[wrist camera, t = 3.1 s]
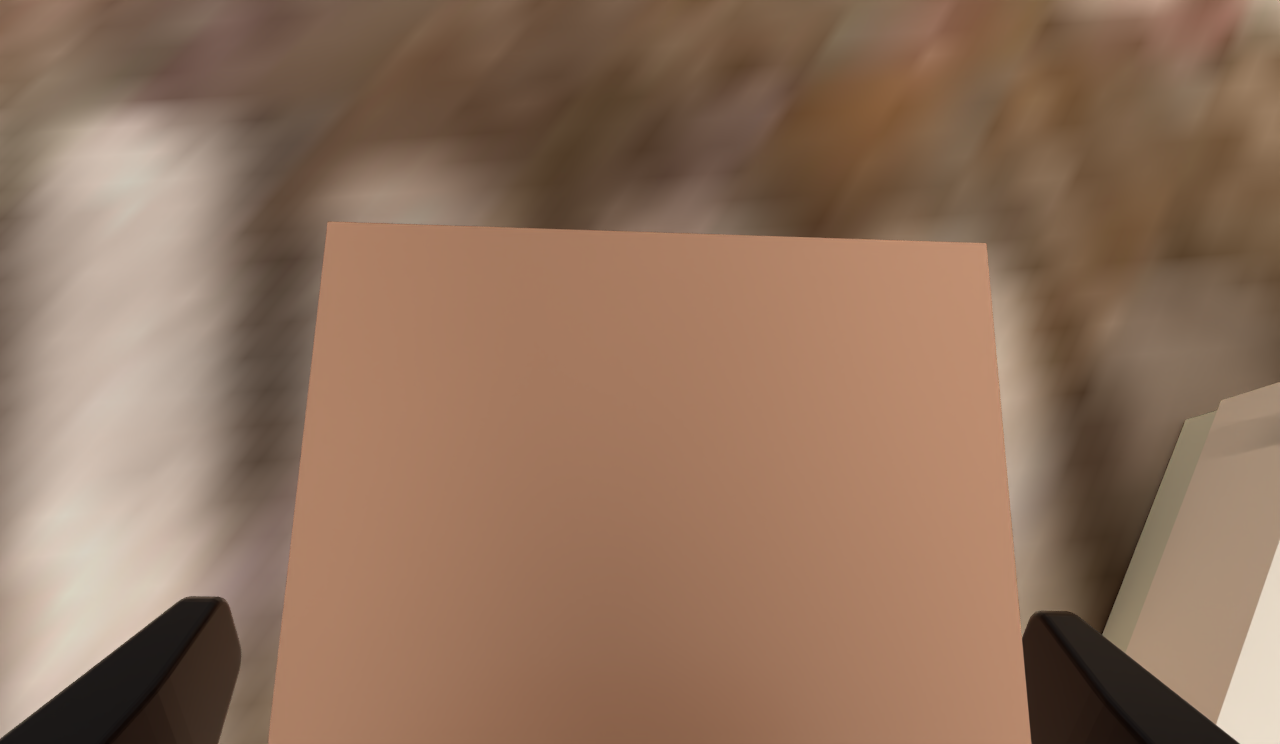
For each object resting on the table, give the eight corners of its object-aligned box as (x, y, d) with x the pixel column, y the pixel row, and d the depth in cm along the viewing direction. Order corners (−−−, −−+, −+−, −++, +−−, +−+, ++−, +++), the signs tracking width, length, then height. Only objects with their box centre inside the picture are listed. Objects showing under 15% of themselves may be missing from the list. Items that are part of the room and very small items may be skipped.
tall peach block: (744, 773, 17) (1071, 1180, 5) (485, 770, 17) (215, 1190, 5) (740, 465, 18) (986, 243, 7) (503, 460, 18) (327, 221, 6)
